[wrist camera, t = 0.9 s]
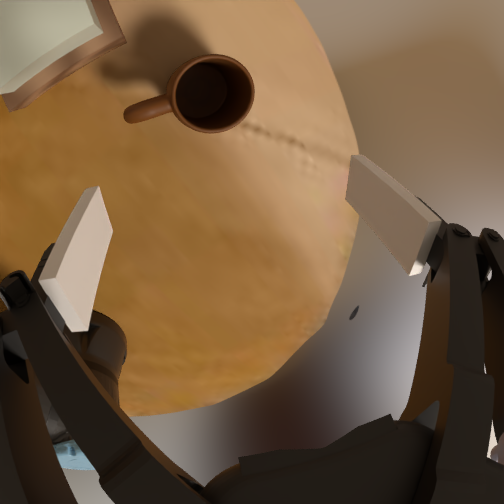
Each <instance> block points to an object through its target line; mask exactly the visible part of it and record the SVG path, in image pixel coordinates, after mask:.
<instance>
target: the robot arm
mask: <svg viewBox="0 0 504 504" xmlns="http://www.w3.org/2000/svg"><path fill="white" fill-rule="evenodd" d="M345 199H346V200H347V202H348V203H349V204H350V205H351V206H352V207H353V208H354V209H355V211H356V212H357V213H358V214H359V215H360V216H361V217H362V219H363V220H364V221H365V222H366V223H367V224H368V225H369V227H370V228H371V229H372V230H373V231H374V233H375V234H376V235H377V236H378V237H379V239H380V240H381V241H382V242H383V243H384V244H385V246H386V247H387V248H388V250H389V251H390V252H391V253H392V255H393V256H394V257H395V258H396V260H397V261H398V262H399V263H400V264H401V266H402V267H403V269H404V270H405V271H406V273H407V274H408V275H409V276H411V275H415V274H418V273H422V270H423V268H424V266H425V264H426V262H427V263H428V264H429V265H430V270H429V272H428V274H427V276H426V279H425V281H424V283H423V287H425V285H426V284H427V293H426V304H425V312H424V320H423V328H422V335H421V341H420V348H419V353H418V359H417V364H416V369H415V375H414V379H413V383H412V388H411V392H410V396H409V400H408V403H407V406H406V408H405V410H404V411H403V413H402V415H401V417H400V419H399V420H398V421H397V420H393V418H392V416H391V414H389V415H386V416H384V417H382V418H379V419H377V420H374V421H371V422H369V423H366V424H364V425H361V426H358V427H357V428H355V429H354V430H352V431H351V432H349V433H347V434H346V435H345V436H343V437H341V438H340V439H338V440H336V441H335V442H333V443H332V444H330V445H328V446H327V447H324V448H321V449H301V450H300V449H298V450H275V451H271V452H266V453H261V454H255V455H250V456H244V457H239V464H236V465H234V466H232V467H230V468H228V469H226V470H224V471H223V472H221V473H220V474H219V475H217V476H215V477H214V478H213V479H212V480H211V481H210V482H209V483H208V484H207V485H206V486H205V487H204V486H202V485H201V484H200V483H199V482H197V481H196V480H195V479H194V478H193V477H191V476H190V475H189V474H188V473H186V472H185V471H184V470H183V469H181V468H180V467H179V466H177V465H176V464H175V463H173V461H172V460H170V459H169V458H168V457H167V456H166V455H165V454H164V453H163V452H162V451H161V450H160V449H159V448H158V447H157V446H156V445H155V444H154V443H153V442H152V441H151V440H149V438H148V437H147V436H146V435H145V434H144V433H143V432H142V431H141V430H140V429H139V428H138V427H137V426H136V425H135V424H134V423H133V422H132V420H131V419H130V418H129V417H128V416H127V415H126V414H125V413H124V411H123V410H122V409H121V408H120V404H119V391H118V379H119V376H120V373H121V369H122V365H123V364H124V362H125V359H126V356H127V341H126V337H125V334H124V332H123V331H122V329H121V328H120V327H119V326H118V325H117V324H116V323H115V322H114V321H112V320H111V319H110V318H108V317H106V316H104V315H102V314H100V313H97V312H94V311H92V308H93V304H94V299H95V295H96V291H97V287H98V283H99V279H100V275H101V271H102V267H103V263H104V260H105V256H106V253H107V249H108V246H109V243H110V239H111V236H112V233H113V229H112V226H111V223H110V220H109V217H108V214H107V211H106V208H105V205H104V202H103V198H102V195H101V192H100V188H99V186H96V187H91V188H87V189H85V191H84V192H83V194H82V196H81V197H80V199H79V201H78V202H77V204H76V206H75V208H74V209H73V211H72V213H71V215H70V216H69V218H68V220H67V222H66V224H65V226H64V228H63V229H62V231H61V233H60V235H59V237H58V239H57V241H56V243H53V244H51V245H50V246H49V247H48V248H47V249H46V251H45V252H44V254H43V256H42V258H41V261H40V262H39V264H38V266H37V268H36V270H35V273H34V275H33V277H32V279H31V281H29V279H28V277H27V275H26V274H25V273H24V272H23V271H21V270H18V271H14V272H12V273H11V274H9V275H8V276H7V277H5V278H4V279H3V281H2V282H1V284H0V298H1V299H2V300H3V302H4V303H5V305H6V306H7V308H8V310H5V311H3V312H1V313H0V504H78V503H77V501H76V499H75V497H74V495H73V493H72V490H71V488H70V486H69V484H68V482H67V480H66V477H65V475H64V472H63V470H62V468H67V469H76V470H96V471H97V472H98V474H99V476H100V478H99V483H100V485H101V487H102V489H103V490H104V491H105V492H106V494H107V495H108V496H109V498H110V499H111V500H112V501H113V502H114V503H115V504H504V240H503V238H502V237H501V236H500V235H499V234H498V232H496V231H494V230H493V229H489V228H484V229H483V230H482V232H481V234H480V236H479V237H476V236H472V235H471V233H470V232H469V231H468V230H467V229H466V228H464V227H463V226H461V225H459V224H454V223H450V224H447V223H446V222H445V221H444V220H443V219H442V218H441V217H440V216H439V215H438V214H437V213H436V212H434V211H433V210H432V209H431V208H430V207H429V206H427V205H426V204H425V203H424V202H423V201H422V200H421V199H420V198H418V197H416V196H414V195H413V194H412V193H411V192H409V191H408V190H407V189H406V188H405V187H403V186H402V185H401V184H400V183H399V182H397V181H396V180H395V179H394V178H392V177H391V176H390V175H389V174H387V173H386V172H385V171H384V170H382V169H381V168H380V167H378V166H377V165H376V164H374V163H373V162H372V161H370V160H369V159H368V158H366V157H365V156H363V155H351V161H350V169H349V176H348V184H347V191H346V198H345ZM491 270H492V277H491V279H490V280H488V278H487V276H488V274H489V273H490V271H491ZM484 363H485V368H486V374H485V372H484ZM492 420H493V426H494V432H495V436H496V440H497V443H498V445H496V446H495V447H494V448H493V449H492V451H491V455H490V457H491V459H490V458H487V452H488V446H489V440H490V433H491V425H492ZM61 467H62V468H61Z"/></svg>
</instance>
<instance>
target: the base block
mask: <svg viewBox="0 0 504 504" xmlns="http://www.w3.org/2000/svg"><path fill="white" fill-rule="evenodd" d="M91 2H92V5H93V7H94V10H95V13H96V15H97V18H98V20H99V23H100V25H101V28H102V30H103V33H102V34H100V35H98V36H96V37H95V38H93V39H91V40H89V41H87V42H86V43H84V44H82V45H80V46H79V47H77V48H75V49H74V50H72V51H70V52H69V53H67V54H65V55H64V56H62V57H61V58H59V59H58V60H56V61H55V62H53V63H52V64H50V65H49V66H47V67H46V68H44V69H43V70H42V71H40V72H39V73H37V74H36V75H35V76H33V77H32V78H31V79H29V80H28V81H27V82H25V83H24V84H23V85H22V86H20V87H19V88H18V89H17V90H15V91H14V92H10V93H5V94H2V97H3V99H4V101H5V104H6V106H7V108H8V110H9V112H12V111H15V110H18V109H22V108H25V107H26V106H28V105H29V104H30V103H31V102H33V101H34V100H35V99H37V98H38V97H39V96H41V95H42V94H43V93H45V92H46V91H47V90H49V89H50V88H51V87H53V86H54V85H56V84H57V83H59V82H60V81H61V80H63V79H64V78H66V77H67V76H69V75H71V74H72V73H74V72H75V71H77V70H78V69H80V68H82V67H83V66H85V65H87V64H88V63H90V62H92V61H93V60H95V59H97V58H98V57H100V56H102V55H104V54H106V53H108V52H109V51H111V50H113V49H115V48H117V47H119V46H121V45H123V44H125V43H127V42H126V40H125V37H124V35H123V33H122V30H121V28H120V26H119V24H118V21H117V19H116V17H115V14H114V12H113V10H112V7H111V5H110V3H109V0H91Z"/></svg>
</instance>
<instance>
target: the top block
mask: <svg viewBox="0 0 504 504" xmlns="http://www.w3.org/2000/svg"><path fill="white" fill-rule="evenodd" d="M102 33H103V30H102V28H101V25H100V23H99V20H98V18H97V15H96V13H95V10H94V7H93V5H92V2H91V0H0V94H5V93H10V92H14V91H15V90H17V89H18V88H19V87H20V86H22V85H23V84H24V83H25V82H27V81H28V80H29V79H31V78H32V77H33V76H35V75H36V74H37V73H39V72H40V71H42V70H43V69H44V68H46V67H47V66H49V65H50V64H52V63H53V62H55V61H56V60H58V59H59V58H61V57H62V56H64V55H65V54H67V53H69V52H70V51H72V50H74V49H75V48H77V47H79V46H80V45H82V44H84V43H86V42H87V41H89V40H91V39H93V38H95V37H96V36H98V35H100V34H102Z"/></svg>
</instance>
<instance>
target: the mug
mask: <svg viewBox="0 0 504 504" xmlns="http://www.w3.org/2000/svg"><path fill="white" fill-rule="evenodd" d="M254 93H255V90H254V83H253V80H252V77H251V75H250V73H249V72H248V70H247V69H246V68H245V67H244V66H243V65H242V64H241V63H240V62H238V61H237V60H235V59H233V58H231V57H229V56H225V55H219V54H210V55H202V56H198V57H196V58H193V59H191V60H189V61H187V62H186V63H184V64H183V65H182V66H180V67H179V68H178V69H177V70H176V71H175V72H174V73H173V74H172V76H171V77H170V79H169V81H168V84H167V89H166V94H163V95H160V96H157V97H154V98H150V99H147V100H144V101H141V102H139V103H136V104H133V105H131V106H129V107H127V108H126V109H125V111H124V114H123V115H124V119H125V121H126V122H127V123H138V122H142V121H145V120H149V119H152V118H154V117H157V116H160V115H163V114H166V113H169V112H173V113H174V115H175V116H176V117H177V118H178V120H179V121H180V122H182V123H183V124H184V125H186V126H187V127H189V128H191V129H193V130H195V131H199V132H203V133H220V132H224V131H227V130H229V129H231V128H233V127H235V126H236V125H238V124H239V123H240V122H241V121H242V120H243V119H244V118H245V117H246V116H247V114H248V113H249V111H250V109H251V107H252V104H253V101H254Z"/></svg>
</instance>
